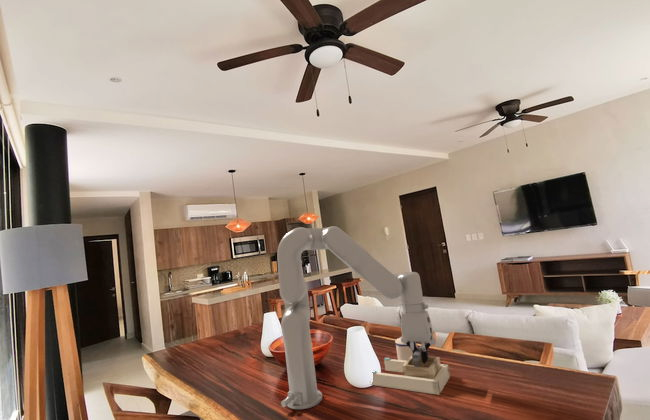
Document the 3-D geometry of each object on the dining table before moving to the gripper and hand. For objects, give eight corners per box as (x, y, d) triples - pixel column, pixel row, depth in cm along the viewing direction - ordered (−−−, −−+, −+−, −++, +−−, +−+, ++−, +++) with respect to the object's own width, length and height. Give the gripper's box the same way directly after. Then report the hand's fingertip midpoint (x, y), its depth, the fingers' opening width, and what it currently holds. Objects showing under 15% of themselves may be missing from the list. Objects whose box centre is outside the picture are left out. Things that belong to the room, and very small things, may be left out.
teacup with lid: (417, 368, 129) (413, 337, 130) (395, 366, 133) (391, 337, 134) (424, 357, 139) (420, 328, 140) (403, 355, 144) (399, 328, 145)
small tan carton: (434, 390, 107) (429, 356, 108) (405, 386, 113) (400, 354, 114) (442, 378, 115) (437, 346, 116) (415, 374, 121) (410, 344, 122)
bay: (439, 399, 103) (436, 381, 104) (370, 388, 116) (368, 373, 117) (451, 378, 117) (448, 362, 117) (388, 370, 130) (386, 356, 130)
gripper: (439, 305, 115) (447, 359, 113) (396, 305, 124) (403, 355, 122) (432, 310, 109) (441, 368, 107) (388, 310, 118) (395, 363, 116)
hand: (421, 361), depth 115 cm, fingers closed on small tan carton, 2 cm apart
